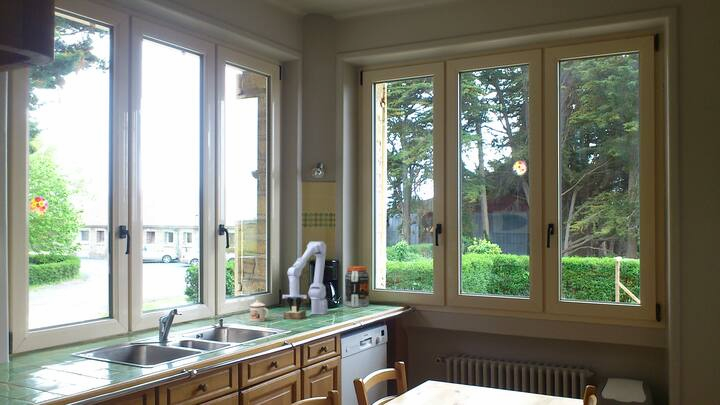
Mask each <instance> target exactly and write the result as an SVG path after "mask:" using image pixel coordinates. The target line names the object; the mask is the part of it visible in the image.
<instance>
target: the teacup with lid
mask: <svg viewBox="0 0 720 405" xmlns="http://www.w3.org/2000/svg"><path fill="white" fill-rule="evenodd" d="M269 314H270V311H269V309H268V308H266V304H265V303H263V302H261V301H260V300H257V299H256V300H255V302H252V303H251V304H250V305H249V315H250V316H249V320H250V322H252V321H253V322H254V323H256V322H257V323H260V322H261V321H262V322H265V321H266V318H267V317H269ZM253 322H252V323H253Z"/></svg>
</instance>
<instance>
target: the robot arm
mask: <svg viewBox="0 0 720 405" xmlns="http://www.w3.org/2000/svg"><path fill="white" fill-rule="evenodd" d="M326 252H327V244H326V243H325V242H324V241H323V240H322V241H312V240H311V241H309V242H308V244H307V245H306V250H305V251H304V253H303V255H302V256H301V257H299V258H297V259H296V261H295V262H294V263H293V265H292V266H291V267H289V268H288V269H287V272H286V273H287V277H288V280H289V294H282V299H286V302H287V304H288V306H289V310H291V311H292V306H294V300H295V303H296V304H295V306H297V308H296V310H297V311H299V310H300V306H301V304H302V301H303V299H308V297H309V298H310V300H311V301H310V302H311V305H310V306H311V312H309V313H308V314H309V315H326V314H328V299H325V298H326V296H327V291H326V288H327V287H326V286H325V285H324V283H323V281H324V270H325V265H326V264H325V261H326ZM313 255H314V256H315V258H316V259H315V267H314V276H313V283H311V284H310V286H309V290H308V292H307V293H308V295H307V294H300V276H301V275H302V272H303V269H304V268H305V266H306V265H307V261H308V259H309V258H310V257H311V256H313Z"/></svg>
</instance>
